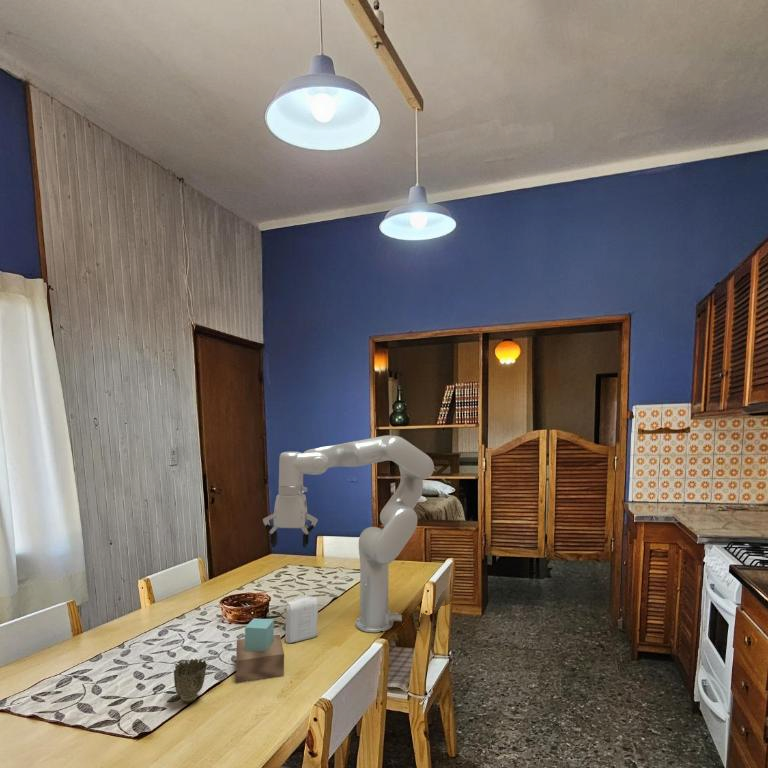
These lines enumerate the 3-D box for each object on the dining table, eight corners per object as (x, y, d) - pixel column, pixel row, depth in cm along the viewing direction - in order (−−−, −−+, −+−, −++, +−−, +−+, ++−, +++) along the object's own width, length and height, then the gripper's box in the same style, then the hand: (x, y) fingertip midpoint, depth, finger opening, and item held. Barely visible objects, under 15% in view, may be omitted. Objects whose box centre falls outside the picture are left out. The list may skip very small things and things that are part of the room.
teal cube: (273, 641, 133) (274, 619, 134) (265, 651, 127) (266, 628, 128) (253, 640, 134) (253, 618, 135) (244, 650, 128) (245, 627, 129)
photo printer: (313, 631, 152) (314, 592, 153) (319, 636, 149) (319, 596, 150) (283, 639, 147) (283, 598, 148) (288, 645, 143) (289, 603, 144)
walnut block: (279, 655, 137) (280, 634, 138) (283, 677, 126) (284, 653, 126) (236, 662, 134) (236, 640, 134) (236, 684, 122) (237, 660, 123)
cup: (178, 692, 118) (179, 658, 119) (209, 690, 119) (210, 657, 119) (167, 710, 111) (168, 674, 111) (199, 708, 111) (201, 673, 112)
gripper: (319, 489, 154) (319, 543, 153) (267, 489, 155) (266, 542, 153) (315, 493, 146) (314, 549, 145) (260, 492, 147) (259, 548, 146)
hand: (289, 546), depth 149 cm, fingers open, 9 cm apart
